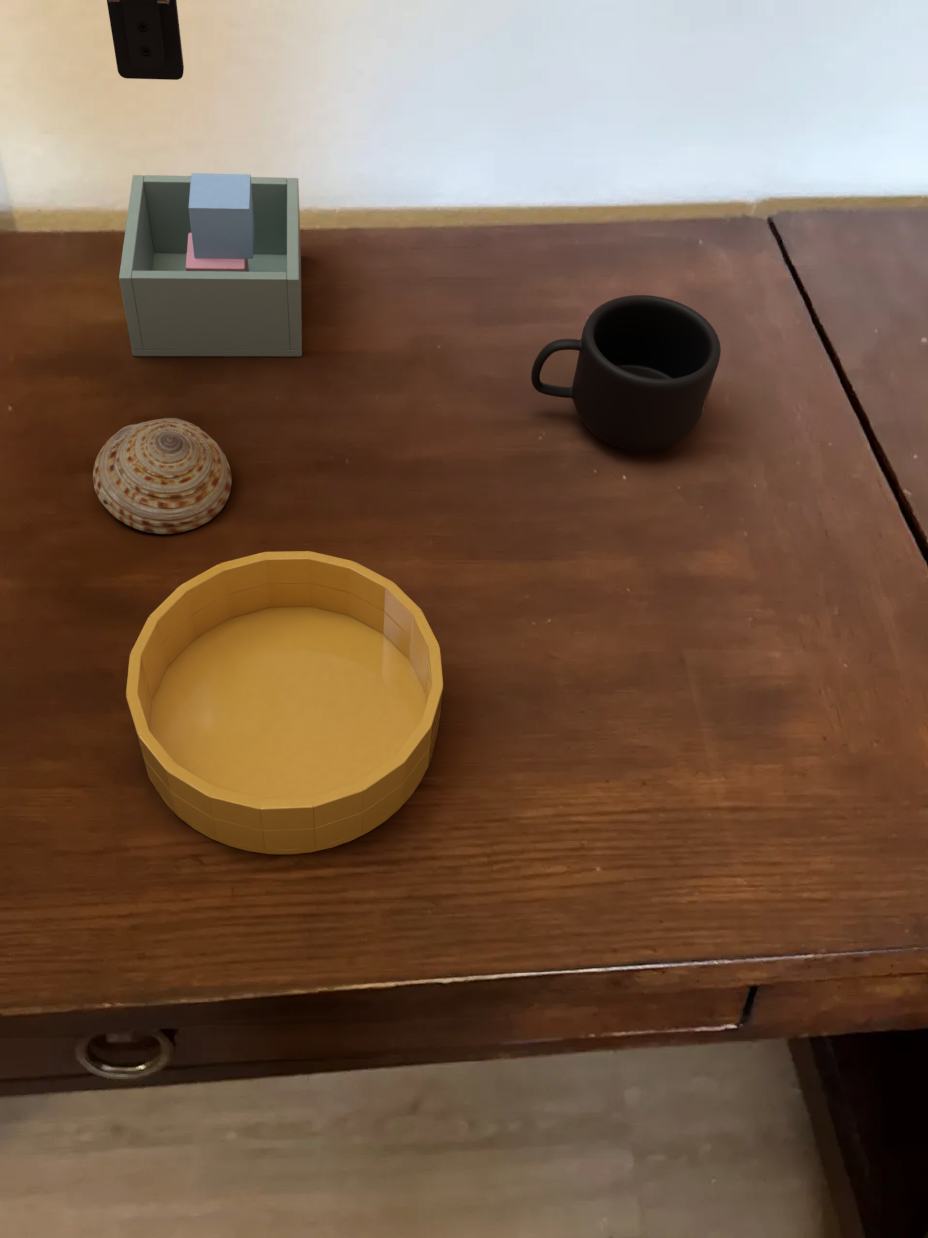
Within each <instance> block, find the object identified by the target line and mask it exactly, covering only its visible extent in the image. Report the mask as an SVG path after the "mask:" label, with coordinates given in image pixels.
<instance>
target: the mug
mask: <svg viewBox="0 0 928 1238" xmlns="http://www.w3.org/2000/svg"><path fill="white" fill-rule="evenodd" d="M581 333H582V334H581V338H580V339H576V338H561V339H556V340H553V341H550V342H549V343H548V344H546V345H545V346H544V347H543V348H542V349H541V350H540V352H539V353H538V354H537V356H536V358H535V360H534V362H533V365H532V367H531V374H530V380H531V384H532V386H533V388H534V390H536V391H537V392H538V393H540V394H543V395H547V396H551V397H558V398H563V399H564V398H566V399H572V401H573V404H574V407H575V410H576V413H577V414H578V416H579V418H580V420H581V422H582V423H583V424H584V426H585V427H586V428H587V430H589V431H590V432H591V433H592V434H593V435H594V436H596V437H597V438H599V439H600V440H602V441H603V442H605V443H607V444H609V445H611V446H614V447H616V448H620V449H624V450H628V451H635V452H636V451H637V452H650V451H651V452H652V451H657V450H663V449H665V448H668V447H669V448H670V447H671V446H674V445H676V444H678V443H679V442H680V441H682V440H683V439H685V438H686V437H687V436H688V435H689V434H691V432H693V430H694V429H695V428H696V426H697V425H698V423H700V420H701V418H702V416H703V414H704V409H705V408H706V405H707V401H708V398H709V394H710V391H711V388H712V385H713V381H714V378H715V376H716V372H717V369H718V366H719V362H720V358H721V350H722V349H721V342H720V339H719V335H718V333H717V332H716V330H715V328H714V327H713V325H712V324H711V322H709V321H708V320H707V319H706V317H704V316H703V315H701V313H699V312H698V311H696V310H695V309H693V308H691V307H689V306H688V305H686V304H683V303H682V302H679V301H676V300H674V299H670V298H667V297H663V296H656V295H648V294H647V295H646V294H631V295H625V296H619V297H616V298H613V299H610V300H608V301H606V302H604V303H602V304H600V305H599V306H598V307H596V308H595V309H594V310H593V312H591V314H590V315H588V318H587V319H586V321H585V324H584V326H583V330H582V332H581ZM560 351H578V355H577V361H576V366H575V371H574V375H573V376H574V377H573V381H572V386H560V385H553V384H548V383H545V382H542V381H541V371H542V368H543V367H544V364H545V363H546V361H547V360H548V358H550V357H551V355H553V354H554V353H556V352H560Z"/></svg>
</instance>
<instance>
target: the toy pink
mask: <svg viewBox="0 0 928 1238" xmlns="http://www.w3.org/2000/svg"><path fill="white" fill-rule="evenodd" d="M186 271H231V272H249V268H248V259H237V258H194V250H193V242H192V233H189V234H188V244H187V256H186Z"/></svg>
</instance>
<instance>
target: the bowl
mask: <svg viewBox="0 0 928 1238" xmlns="http://www.w3.org/2000/svg"><path fill="white" fill-rule="evenodd" d="M441 653H442V652H441V647H440V644H439V642H438V640H437V637H436V636H435V634H434V632H433V630H432V628H431V626H430V624H429V621H428V620H427V618H426V616H425V613H424V612H423V610H422V609H421V608H420V607H419V605H417V604H416V603H415V602H414V601H413V599H411V598H410V597H409V595H407V594H406V593H405V592H404V590H402V589H401V588H400V587H399V586H398V585H397V584H396V583H395V582H394V581H392V580H390V579H389V578H387V577H385V576H383V575H381V574H379V573H377V572H375V571H373V570H371V569H370V568H368V567H366V566H364V565H363V564H360V563H358V562H357V561H354V560H349V559H345V558H342V557H338V556H333V555H329V554H324V553H321V552H320V553H319V552H317V551H311V550H303V551H302V550H293V551H292V550H291V551H262V552H258V553H254V554H251V555H247V556H243V557H240V558H235V559H232V560H231V559H230V560H227V561H223V562H220V563H217V564H215V565H214V566H212V567H210V568H209V569H206V570H205V571H204V572H201V573H199V574H198V575H196V576H195V577H192V578H191V579H189V580H187V581H185V582H183V583H181V584H180V585H179V586H178V587H177V588H175V590H173V591H172V593H171V594H170V595H169V596H167V598H165V600H164V601H163V602H162V603H160V604H159V606H157V607H156V608H155V609H154V611H152V613H150V615H148V617H147V619H146V621H145V623H144V625H143V627H142V630H141V631H140V632H139V635H138V637H137V640H136V641H135V643H134V646H133V647H132V648H131V651H130V653H129V658H128V667H127V668H128V669H127V677H126V678H127V679H126V689H125V698H126V699H125V700H126V702H127V705H128V710H129V714H130V717H131V721H132V726H133V729H134V733H135V736H136V741H137V744H138V747H139V749H140V750H139V751H140V753H141V757H142V761H143V763H144V767H145V770H146V774H147V776H148V779H149V781H150V782H151V783H152V785H153V787H154V789H155V791H156V792H157V794H158V795H159V796H160V798H161V799H162V801H163V802H164V803H165V805H166V806H167V807H168V808H169V809H170V810H171V811H172V812H173V813H174V814H175V815H176V817H178V818H179V819H180V820H181V821H183V822H184V823H185V824H187V825H188V826H189V827H191V828H192V829H193V830H195V831H197V832H198V833H200V834H202V835H203V836H206V837H207V838H209V839H211V840H213V841H216V842H218V843H220V844H223V845H225V846H228V847H231V848H235V849H238V850H243V851H245V852H252V853H258V854H266V855H298V854H307V853H314V852H318V851H323V850H329V849H332V848H335V847H338V846H341V845H343V844H346V843H349V842H351V841H354V840H356V839H357V838H359V837H362V836H364V835H366V834H367V833H369V832H371V831H373V830H374V829H376V828H377V827H378V826H380V825H382V824H383V823H385V822H386V821H387V820H388V819H389V818H391V817H392V816H393V815H394V814H395V813H397V812H398V811H399V810H400V809H401V808H402V806H404V804H405V803H406V802H407V801H408V800H409V799H410V798H411V797H412V795H413V794H414V793H415V791H416V789H418V786H419V785H420V783H421V782H422V781H423V778H424V776H425V774H426V772H427V770H428V768H429V765H430V763H431V760H432V757H433V753H434V751H435V745H436V741H437V738H438V734H439V727H440V720H441V710H442V702H443V694H444V693H443V692H444V678H443V676H444V675H443V666H442V656H441Z"/></svg>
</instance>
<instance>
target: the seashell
mask: <svg viewBox="0 0 928 1238" xmlns="http://www.w3.org/2000/svg"><path fill="white" fill-rule="evenodd" d="M232 478H233V477H232V471H231V467H230V464H229V461H228V459H227V456H226V455H225V453H224V450H223V449H222V448H221V447H220V446H219V444H218V443H217V442H216V441H215V440H214V439H213V438H212V437H211V436H210V435H209V434H208V433H207V432H205V431H204V430H202V429H201V428H200V426H197V425H195V424H194V423H192V422H189V421H187V420H183V419H181V418H177V417H164V418H158V419H152V420H148V421H142V422H139V423H133V424H129V425H126V426H124V427H122V428H121V429H119V430H118V431H117V432H116V433H114V434H113V435H111V437H109V439H108V440H106V442H105V443H104V444H103V446H102V447H101V449H100V451H99V452H98V454H97V456H96V457H95V461H94V465H93V471H92V481H93V488H94V492H95V494H96V496H97V499H98V500H99V502H100V503H101V504H102V505H103V506H104V508H105V509H106V510H107V511H108V512H109V514H111V516H113V517H114V518H116V519H117V520H118V521H120V522H122V523H123V524H125V525H126V526H128V527H131V528H133V529H135V530H138V531H141V532H145V533H151V534H157V535H171V534H172V535H173V534H180V533H184V532H187V531H191V530H194V529H198V528H199V527H201V526H203V525H205V524H207V523H209V522H210V521H211V520H212V519H213V518H215V517H216V516H217V515H218V514H219V513H220V512H221V511H222V510H223V508H224V507H225V505H226V503H227V501H228V499H229V497H230V493H231V490H232V483H233V482H232V480H233V479H232Z"/></svg>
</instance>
